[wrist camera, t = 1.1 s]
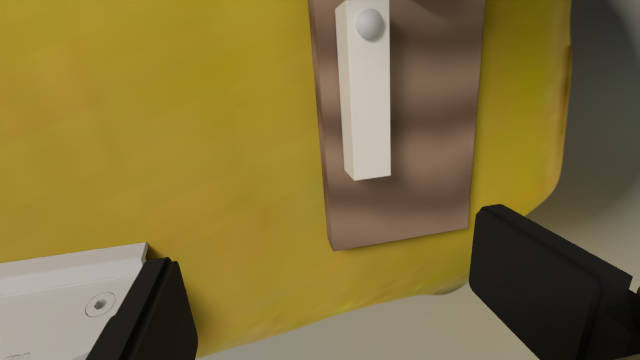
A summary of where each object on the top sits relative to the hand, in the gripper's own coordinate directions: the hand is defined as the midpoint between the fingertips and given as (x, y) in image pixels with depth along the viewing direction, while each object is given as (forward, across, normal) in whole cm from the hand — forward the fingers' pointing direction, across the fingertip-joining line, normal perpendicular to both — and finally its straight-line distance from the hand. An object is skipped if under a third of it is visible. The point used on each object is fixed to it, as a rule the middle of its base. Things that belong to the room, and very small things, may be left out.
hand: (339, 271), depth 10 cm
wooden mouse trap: (+20, -10, -1) cm, 23 cm away
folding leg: (+18, -6, -3) cm, 19 cm away
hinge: (+20, +22, +12) cm, 32 cm away
